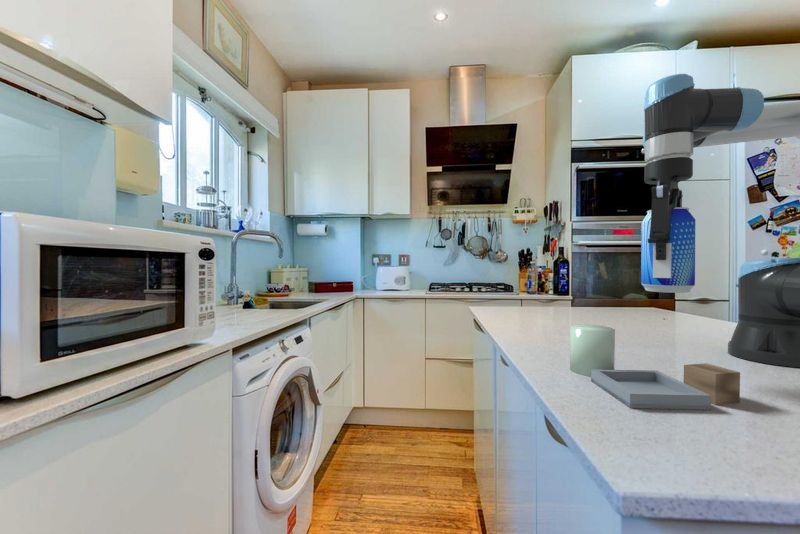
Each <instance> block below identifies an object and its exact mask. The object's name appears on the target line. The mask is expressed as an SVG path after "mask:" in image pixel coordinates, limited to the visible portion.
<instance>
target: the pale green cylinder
mask: <svg viewBox="0 0 800 534" xmlns="http://www.w3.org/2000/svg"><path fill="white" fill-rule="evenodd" d="M569 333H570V334H569V337H570V339H569V340H570V341H569V342H570V343H569V344H570V345H569V350H570V351H569V370H570V371H571V373H572V372H573V373H574V374H576V375H581V376H583V377H584V376H585V377H589V378H591V369H593V370H615V365H616V364H615V363H616V362H615V360H616V359H615V358H616V357H615V354H616V353H615V351H616V349H615V348H616V344H615V343H616V329H615V328H614V327H610V326H604V325H598V324H583V323H581V324H571V325H570V332H569Z"/></svg>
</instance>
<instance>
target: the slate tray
mask: <svg viewBox="0 0 800 534" xmlns="http://www.w3.org/2000/svg"><path fill="white" fill-rule="evenodd" d="M590 378H591V379H590V381H591V383H593V384H595V385H596V386H597V387H599V388H601V389H602V390H603V391H605V392H606V393H608V394H609V395H611V396H612V397H614V398H615V399H616V400H618V401H619V402H621V403H622V404H624V405H626V407H628V408H629V409H663V410H664V409H667V410H703V411H704V410H709V411H710V410H711V409H712V404H711V395H709V394H707V393H705V392H702V391H700V390H698V389H696V388H694V387H691V386H689V385H687V384H685V383H684V381H683V382H682V381H680V380H678V379H676V378H674V377H672V376H670V375H667V374H665V373H663V372H661V371H659V370H644V369H643V370H641V369H640V370H639V369H635V370H633V369H614V370H593V369H591V377H590Z"/></svg>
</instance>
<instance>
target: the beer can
mask: <svg viewBox="0 0 800 534" xmlns="http://www.w3.org/2000/svg"><path fill="white" fill-rule="evenodd" d="M646 213H647V214H646V215H645V217H644V218H643V220H642V221H641V224H640V225H641V226H640V228H641V233H640V234H641V237H640V239H641V241H640V243H641V244H640V246H641V247H640V248H641V249H640V251H641V252H640V253H641V254H640V257H641V259H640V260H641V261H640V263H641V264H640V269H641V270H640V272H641V273H640V284H641V285H642V287H643V288H644V290H645V291H646V292H653V293H654V292H655V293H667V294H668V293H672V294H673V293H674V294H677V293H678V294H683V293H686V294H687V293H690V291H691V290H692V288H693V287H695V285H696V218H695V217H694V216H693V215H692V214H691V211H690V208H689V207H685V206H682V207H675V208H674V209H672V214H671V233H670V242H669V243H672V245H671V278H653V244H655V243H648V239H650V227H651V209H649V210H647V211H646Z"/></svg>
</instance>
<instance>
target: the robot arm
mask: <svg viewBox="0 0 800 534" xmlns="http://www.w3.org/2000/svg"><path fill="white" fill-rule="evenodd" d="M695 85H696V84H695V83H694V77H693V76H692V75H689V74H687V73H678V74H677V73H676V74H672V75H668V76H665V77H662V78H659V79H657V80H656V81H654V82H653V83H652V84H650V85H649V86H648V87H647V88H646V91H645V97H644V108H643V112H644V134H643V136H642V146H643V148H642V149H641V150H640V151H641V152H640V153H642V154H644V162H645V163H646V164H645V166H644V175H643V179H644V180H643V181H644V183H645V184H647V185H655V186H652V187H651V189H650V191H651V209H650V210H651V227H650V239H648V243H655V244H653V278H671V245H672V243H669V242H670V233H671V214H672V209H674V208H675V207H683V189H680V188H679V183H680V182H685V181H687V180H690V179H691V178H692V177H693V174H694V171H693V170H694V169H693V167H694V160H693V159H692V158H691V157H692V156H693V155H694V148H702V147H710V146H711V147H712V146H721V145H731V144H740V143H748V142H758V141H765V140H776V139H784V138H793V137H794V138H796V139H798V140H800V101H793V102H784V103H775V104H767V105H766V104H765V96H764V94H763V93H762V92H761V91H760V90H759V89H758V88H757V89H756V88H746V87H738V86H737V87H730V88H729V87H728V88H726V87H725V88H705V89H704V88H695ZM737 281H738V283H737V284H738V285H737V286H738V287H737V289H738V291H737V292H738V295H737V297H738V299H737V300H738V301H737V303H738V307H737V308H738V311H737V313H738V314H737V315H738V316H737V317H738V318H737V324H736V327H735V329H734V330H733V333H732V336H731V339H730V340H729V341H728V343H727V353H728V354H729V355H731V356H733V357H736V358H740V359H744V360H748V361H751V362H756V363H761V364H768V365H773V366H775V365H776V366H783V367H789V368H790V367H792V368H800V256H799V257H797V256H796V257H778V258H777V257H775V258H765V259H755V260H749V261H746V262H744V263H742V264H741V265H740V267H739V276H738V278H737Z"/></svg>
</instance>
